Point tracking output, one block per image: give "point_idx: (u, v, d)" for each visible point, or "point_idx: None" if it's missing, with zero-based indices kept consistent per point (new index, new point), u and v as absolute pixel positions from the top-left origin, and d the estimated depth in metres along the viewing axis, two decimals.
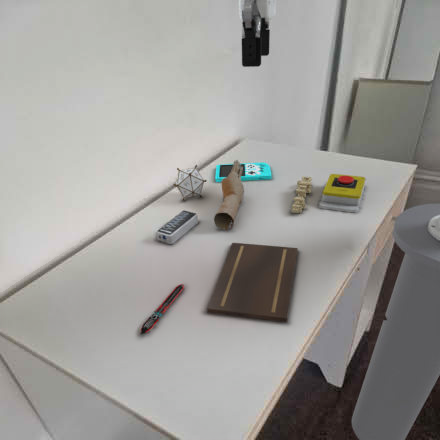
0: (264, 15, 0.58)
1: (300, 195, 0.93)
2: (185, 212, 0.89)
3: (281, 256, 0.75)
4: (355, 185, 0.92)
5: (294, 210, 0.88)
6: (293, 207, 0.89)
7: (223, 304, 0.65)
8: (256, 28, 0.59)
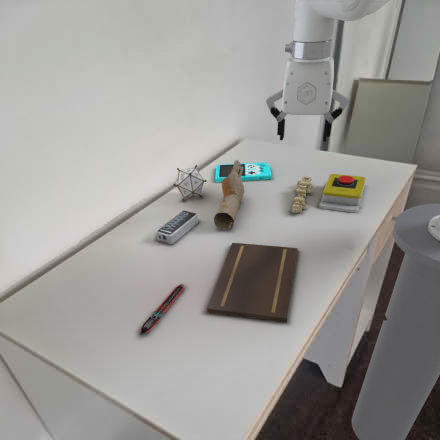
0: (282, 109, 0.80)
1: (300, 195, 0.93)
2: (185, 212, 0.89)
3: (281, 256, 0.75)
4: (355, 185, 0.92)
5: (294, 210, 0.88)
6: (293, 207, 0.89)
7: (223, 304, 0.65)
8: (278, 115, 0.82)
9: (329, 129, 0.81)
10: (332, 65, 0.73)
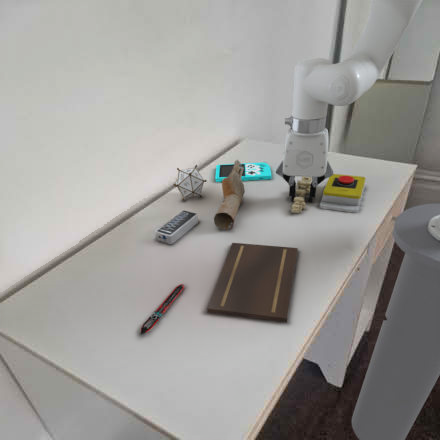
0: (282, 171, 0.89)
1: (300, 195, 0.93)
2: (185, 212, 0.89)
3: (281, 256, 0.75)
4: (355, 185, 0.92)
5: (294, 210, 0.88)
6: (293, 207, 0.89)
7: (223, 304, 0.65)
8: None
9: (314, 192, 0.92)
10: (327, 137, 0.82)
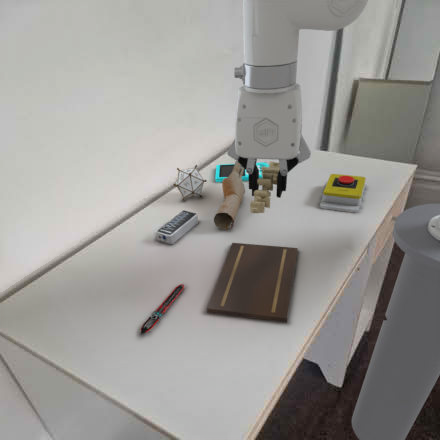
0: (235, 151, 0.60)
1: (264, 187, 0.64)
2: (185, 212, 0.89)
3: (281, 256, 0.75)
4: (356, 185, 0.92)
5: (252, 209, 0.59)
6: (251, 205, 0.60)
7: (223, 304, 0.65)
8: None
9: (283, 182, 0.63)
10: (298, 96, 0.53)
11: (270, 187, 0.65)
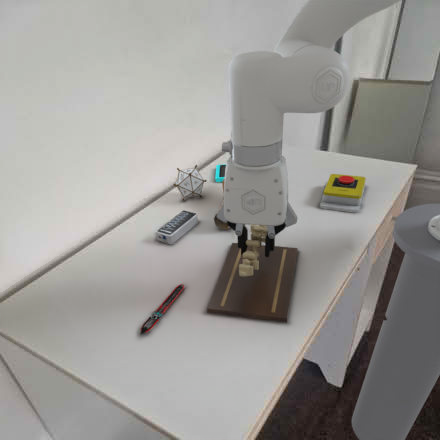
0: (224, 216, 0.62)
1: (253, 247, 0.66)
2: (185, 212, 0.89)
3: (281, 256, 0.75)
4: (356, 185, 0.92)
5: (241, 273, 0.61)
6: (240, 268, 0.61)
7: (223, 304, 0.65)
8: None
9: (271, 244, 0.64)
10: (283, 171, 0.55)
11: (259, 246, 0.66)
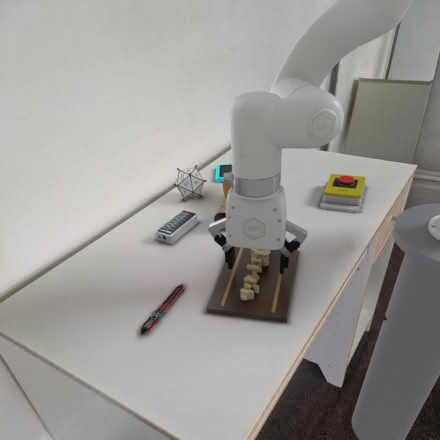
0: (226, 240, 0.65)
1: (253, 271, 0.69)
2: (185, 212, 0.89)
3: None
4: (356, 185, 0.92)
5: (243, 298, 0.64)
6: (242, 293, 0.65)
7: (223, 304, 0.65)
8: (224, 244, 0.67)
9: (286, 261, 0.66)
10: (282, 200, 0.58)
11: (259, 270, 0.70)
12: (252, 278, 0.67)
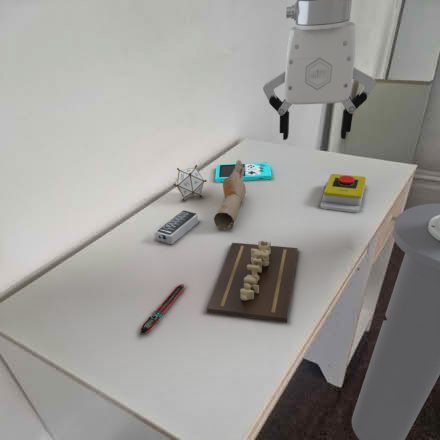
0: None
1: (253, 271, 0.69)
2: (185, 212, 0.89)
3: (281, 256, 0.75)
4: (356, 185, 0.92)
5: (243, 298, 0.64)
6: (242, 293, 0.65)
7: (223, 304, 0.65)
8: (280, 106, 0.61)
9: (349, 122, 0.61)
10: (353, 32, 0.52)
11: (259, 270, 0.70)
12: (252, 278, 0.67)
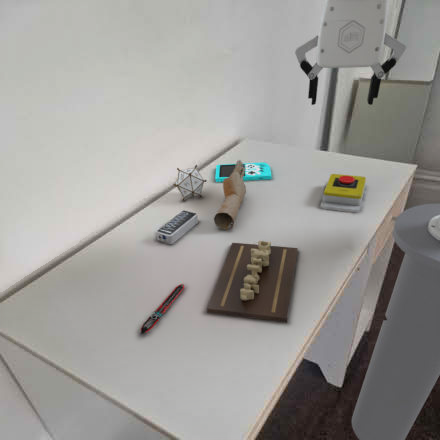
0: None
1: (253, 271, 0.69)
2: (185, 212, 0.89)
3: (281, 256, 0.75)
4: (356, 185, 0.92)
5: (243, 298, 0.64)
6: (242, 293, 0.65)
7: (223, 304, 0.65)
8: (311, 70, 0.63)
9: (377, 87, 0.63)
10: None
11: (259, 270, 0.70)
12: (252, 278, 0.67)
